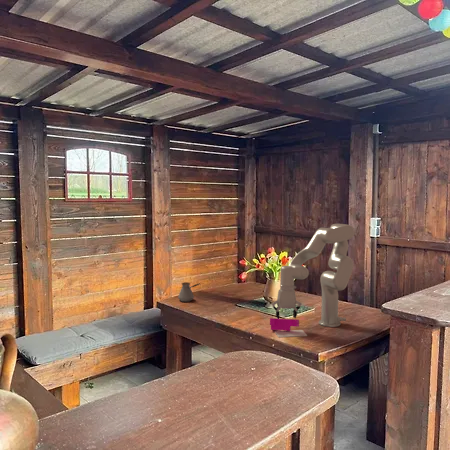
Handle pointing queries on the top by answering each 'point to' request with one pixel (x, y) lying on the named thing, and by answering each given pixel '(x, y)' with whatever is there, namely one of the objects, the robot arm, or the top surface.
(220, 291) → the top surface
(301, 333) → the mat
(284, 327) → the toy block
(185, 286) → the coffee pot
